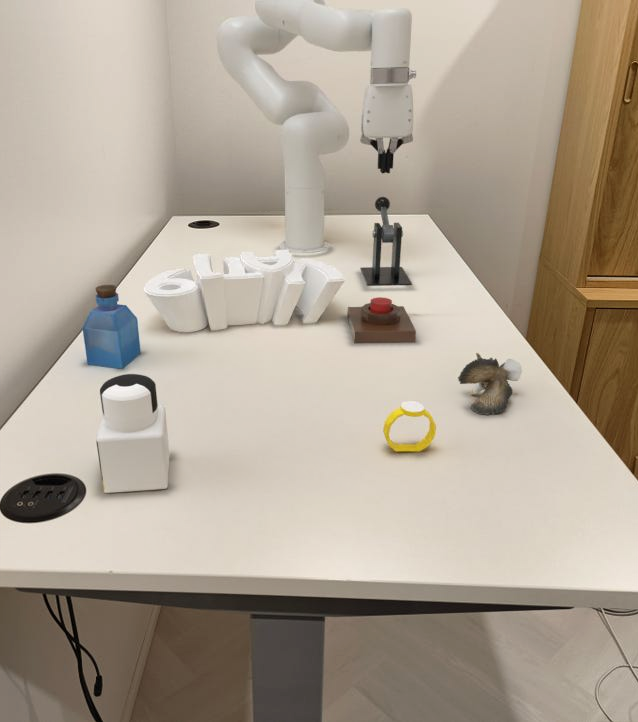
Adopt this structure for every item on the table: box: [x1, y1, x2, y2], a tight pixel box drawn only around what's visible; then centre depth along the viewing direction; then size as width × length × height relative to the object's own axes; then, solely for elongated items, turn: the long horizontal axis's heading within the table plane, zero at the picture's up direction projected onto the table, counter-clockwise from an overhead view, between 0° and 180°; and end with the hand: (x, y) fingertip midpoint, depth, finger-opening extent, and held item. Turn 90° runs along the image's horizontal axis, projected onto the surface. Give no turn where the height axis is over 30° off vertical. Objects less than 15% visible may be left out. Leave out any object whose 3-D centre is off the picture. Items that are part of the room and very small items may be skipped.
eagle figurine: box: [457, 352, 523, 416], centre depth 92 cm, size 8×7×9 cm
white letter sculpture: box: [143, 249, 346, 333], centre depth 122 cm, size 35×16×10 cm, turn 94°
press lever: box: [374, 196, 394, 244], centre depth 142 cm, size 13×3×3 cm, turn 179°
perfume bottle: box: [81, 284, 142, 370], centre depth 106 cm, size 6×6×12 cm
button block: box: [347, 302, 417, 344], centre depth 117 cm, size 12×10×4 cm
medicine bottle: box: [95, 373, 170, 494], centre depth 76 cm, size 7×7×12 cm
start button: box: [369, 296, 393, 313], centre depth 116 cm, size 4×4×2 cm
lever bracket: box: [360, 222, 413, 287], centre depth 140 cm, size 12×9×12 cm
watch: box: [382, 400, 437, 453], centre depth 81 cm, size 6×3×6 cm, turn 93°
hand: (384, 172), depth 142 cm, fingers closed
